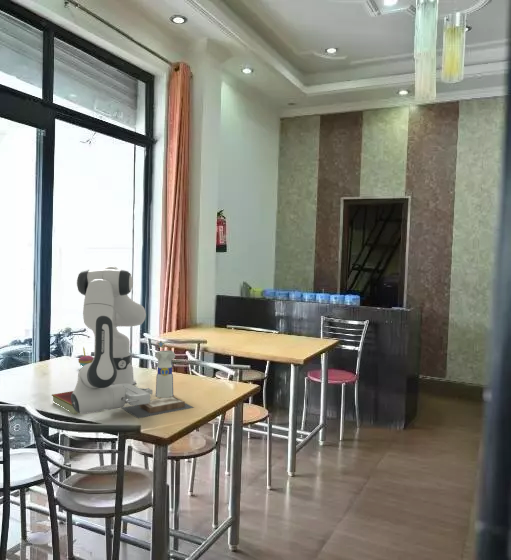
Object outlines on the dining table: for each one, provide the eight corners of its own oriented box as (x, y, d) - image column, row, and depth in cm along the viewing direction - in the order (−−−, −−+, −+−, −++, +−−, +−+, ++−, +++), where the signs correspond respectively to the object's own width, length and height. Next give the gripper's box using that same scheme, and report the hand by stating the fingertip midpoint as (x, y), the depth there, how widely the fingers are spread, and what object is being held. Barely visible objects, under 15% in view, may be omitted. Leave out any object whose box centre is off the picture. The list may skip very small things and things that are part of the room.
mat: (120, 408, 191) (120, 407, 191) (174, 399, 206) (174, 398, 206) (138, 419, 179) (138, 418, 179) (194, 408, 194) (194, 407, 194)
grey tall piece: (175, 398, 208) (175, 340, 207) (154, 399, 206) (155, 340, 206) (175, 393, 216) (175, 337, 215) (155, 393, 214) (156, 337, 214)
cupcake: (75, 369, 261) (75, 347, 261) (83, 366, 269) (83, 345, 269) (90, 370, 260) (90, 348, 259) (97, 367, 268) (97, 345, 268)
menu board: (139, 401, 193) (172, 395, 202) (139, 407, 193) (172, 401, 202) (150, 407, 185) (184, 401, 194) (150, 413, 185) (184, 406, 194)
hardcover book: (80, 398, 206) (80, 389, 206) (103, 409, 191) (103, 399, 191) (51, 404, 198) (51, 393, 198) (73, 416, 183) (73, 405, 183)
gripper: (128, 394, 174) (163, 388, 182) (106, 382, 190) (139, 378, 198) (128, 411, 174) (162, 405, 182) (106, 398, 190) (139, 393, 198)
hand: (150, 391), depth 190 cm, fingers closed
